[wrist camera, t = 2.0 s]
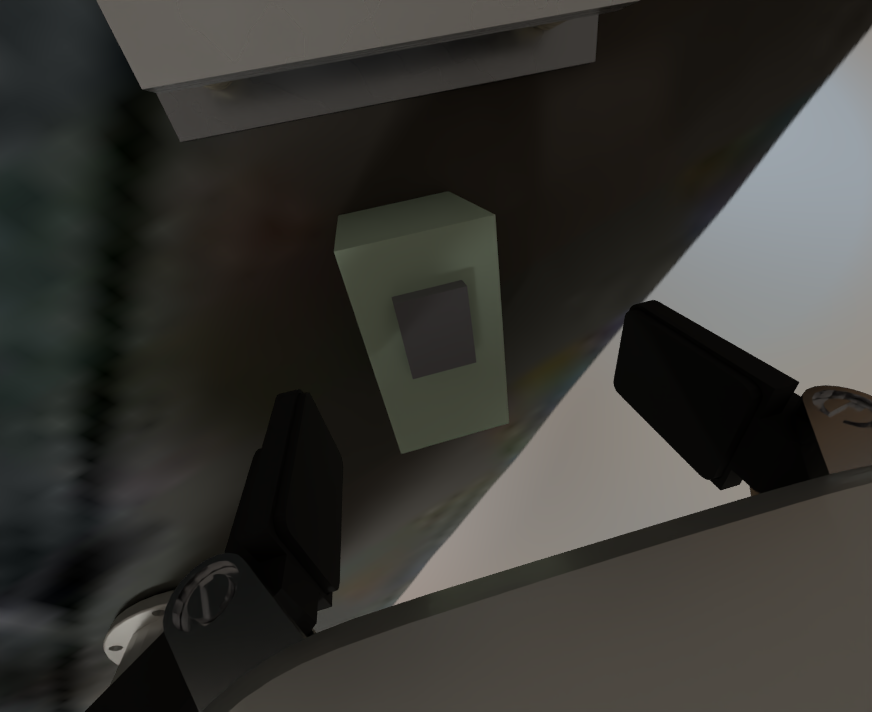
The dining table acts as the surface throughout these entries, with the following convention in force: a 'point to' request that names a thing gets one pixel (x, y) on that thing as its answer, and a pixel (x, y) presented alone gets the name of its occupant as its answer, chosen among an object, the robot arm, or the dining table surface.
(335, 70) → the chassis
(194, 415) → the dining table surface
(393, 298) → the pale green block
